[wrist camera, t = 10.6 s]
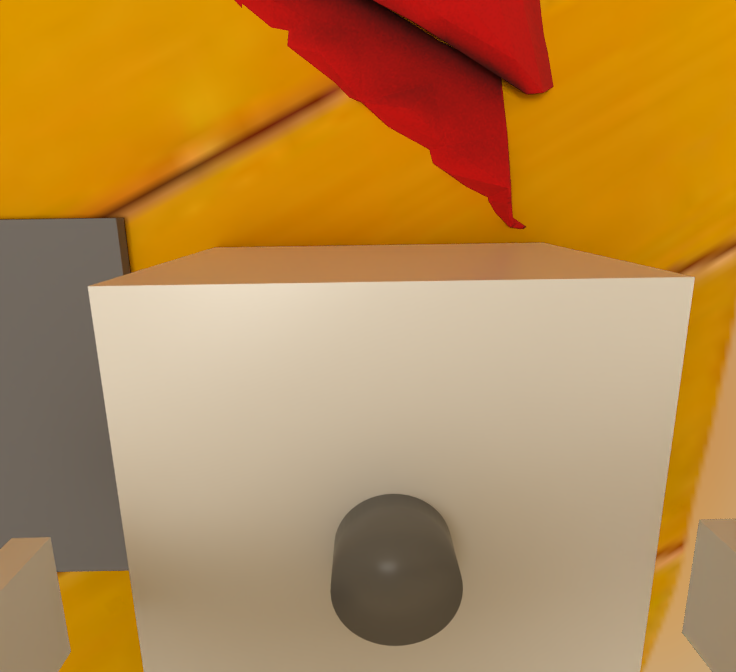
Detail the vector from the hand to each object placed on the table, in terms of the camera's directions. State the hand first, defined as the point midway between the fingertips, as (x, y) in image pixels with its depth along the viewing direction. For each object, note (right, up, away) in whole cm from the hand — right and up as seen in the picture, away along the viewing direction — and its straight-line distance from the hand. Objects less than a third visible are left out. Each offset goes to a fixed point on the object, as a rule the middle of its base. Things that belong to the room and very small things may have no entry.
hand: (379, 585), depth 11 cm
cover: (0, +3, +10) cm, 10 cm away
